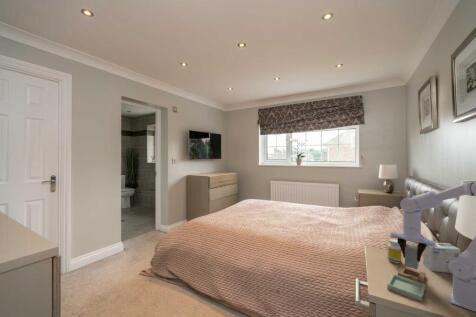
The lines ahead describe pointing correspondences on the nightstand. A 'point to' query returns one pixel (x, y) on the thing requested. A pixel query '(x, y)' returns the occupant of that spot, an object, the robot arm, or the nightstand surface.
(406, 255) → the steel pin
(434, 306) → the nightstand surface
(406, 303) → the nightstand surface
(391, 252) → the supplement bottle
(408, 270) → the oak holder
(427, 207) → the robot arm
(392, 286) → the sage tray
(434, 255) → the light bulb box
